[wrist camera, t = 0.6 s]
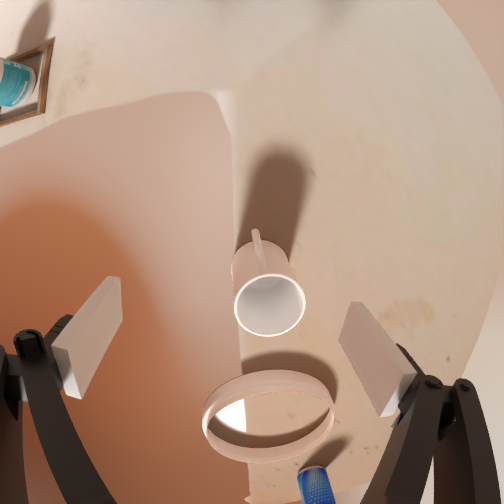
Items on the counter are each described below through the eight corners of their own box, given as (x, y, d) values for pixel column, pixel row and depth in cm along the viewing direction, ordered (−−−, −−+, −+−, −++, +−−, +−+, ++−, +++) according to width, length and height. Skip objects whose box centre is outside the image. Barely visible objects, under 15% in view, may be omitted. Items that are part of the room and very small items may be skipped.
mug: (225, 220, 41) (224, 245, 30) (286, 215, 41) (307, 237, 30) (233, 296, 45) (235, 342, 33) (289, 290, 45) (307, 333, 34)
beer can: (327, 461, 64) (341, 506, 48) (322, 474, 66) (333, 515, 51) (298, 466, 63) (308, 512, 48) (294, 478, 66) (303, 521, 50)
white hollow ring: (230, 352, 48) (230, 373, 43) (354, 382, 53) (363, 399, 48) (188, 434, 55) (186, 452, 50) (293, 452, 61) (296, 468, 55)
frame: (4, 66, 28) (-1, 64, 27) (53, 45, 29) (48, 43, 28) (-3, 128, 32) (-8, 128, 30) (44, 113, 33) (39, 112, 31)
